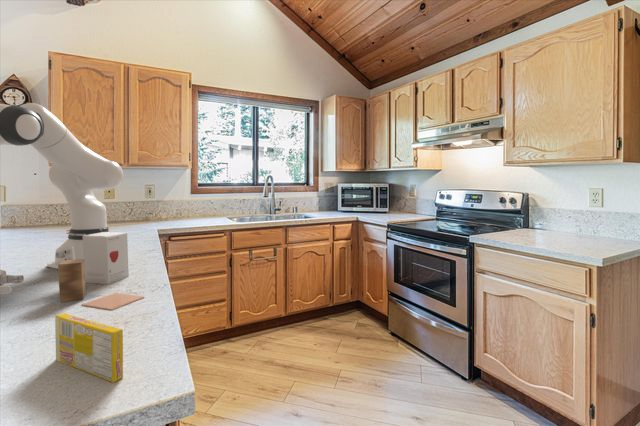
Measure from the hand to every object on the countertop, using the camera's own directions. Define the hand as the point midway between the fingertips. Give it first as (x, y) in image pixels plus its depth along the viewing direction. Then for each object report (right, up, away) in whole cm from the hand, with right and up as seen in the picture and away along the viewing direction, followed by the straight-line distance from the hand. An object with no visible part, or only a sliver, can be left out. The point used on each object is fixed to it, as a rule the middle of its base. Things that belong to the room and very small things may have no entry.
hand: (17, 283), depth 89 cm
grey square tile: (+10, -5, +6) cm, 13 cm away
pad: (+22, -6, +4) cm, 23 cm away
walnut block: (+10, -5, +6) cm, 13 cm away
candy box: (+37, -9, -29) cm, 47 cm away
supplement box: (+8, -4, +24) cm, 26 cm away
